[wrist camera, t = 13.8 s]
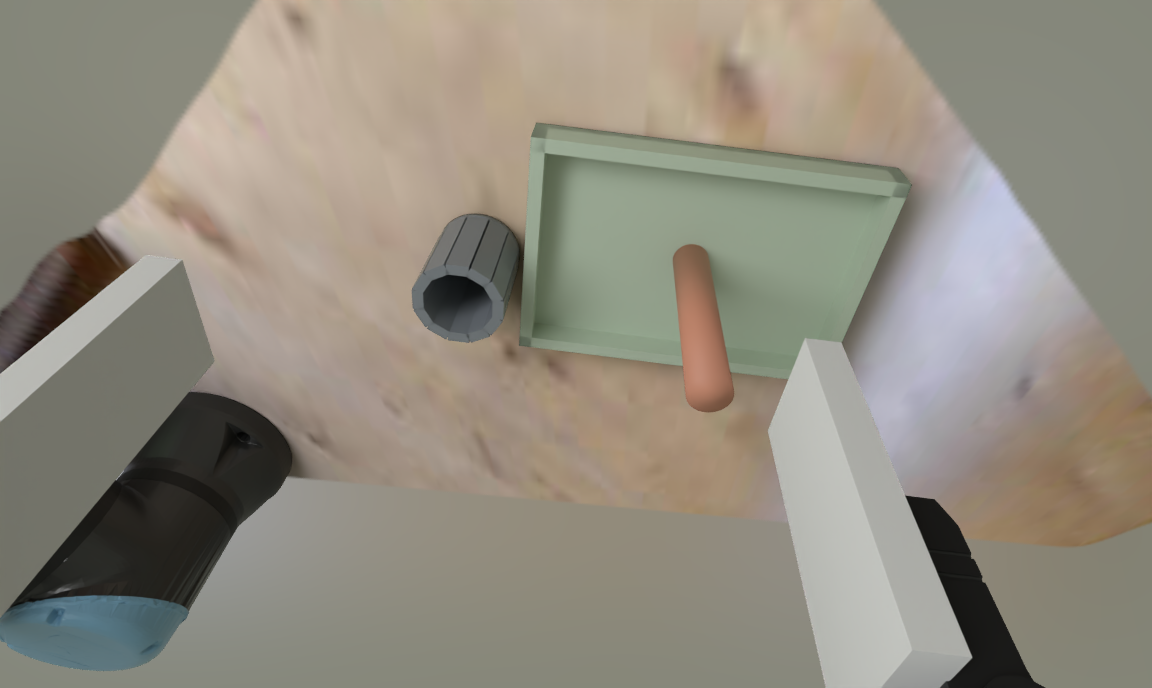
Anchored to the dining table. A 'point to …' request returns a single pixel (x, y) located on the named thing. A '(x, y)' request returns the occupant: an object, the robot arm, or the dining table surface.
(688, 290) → the pin
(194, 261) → the dining table surface
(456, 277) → the cup
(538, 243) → the tray
